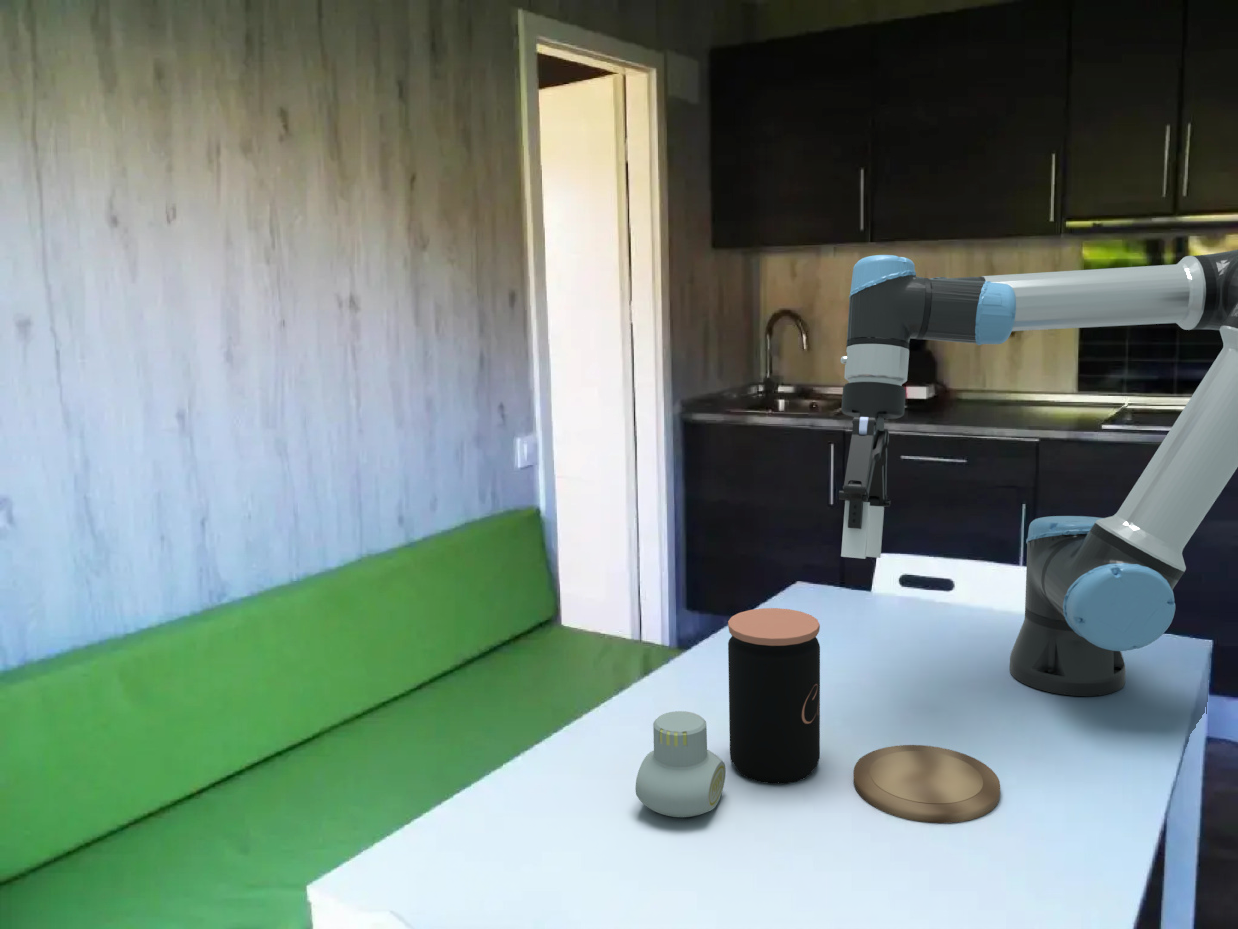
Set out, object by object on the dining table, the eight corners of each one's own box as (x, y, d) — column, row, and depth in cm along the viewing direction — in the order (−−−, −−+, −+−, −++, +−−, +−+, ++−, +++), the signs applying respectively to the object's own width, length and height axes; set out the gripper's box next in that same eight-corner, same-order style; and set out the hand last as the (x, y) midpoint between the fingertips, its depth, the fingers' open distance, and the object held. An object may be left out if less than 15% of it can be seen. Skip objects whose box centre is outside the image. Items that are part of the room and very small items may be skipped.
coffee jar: (818, 790, 120) (819, 640, 117) (725, 783, 122) (723, 636, 119) (820, 748, 130) (820, 609, 127) (734, 743, 132) (732, 606, 129)
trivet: (968, 751, 128) (968, 741, 128) (1024, 819, 112) (1024, 807, 112) (838, 757, 128) (838, 747, 127) (875, 827, 112) (876, 815, 112)
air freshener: (662, 777, 124) (660, 697, 123) (730, 787, 122) (728, 706, 120) (630, 823, 114) (627, 737, 113) (703, 835, 112) (701, 747, 110)
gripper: (858, 396, 142) (846, 553, 141) (826, 366, 119) (811, 554, 118) (915, 398, 139) (904, 559, 138) (894, 368, 116) (880, 561, 115)
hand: (861, 557), depth 128 cm, fingers open, 13 cm apart
